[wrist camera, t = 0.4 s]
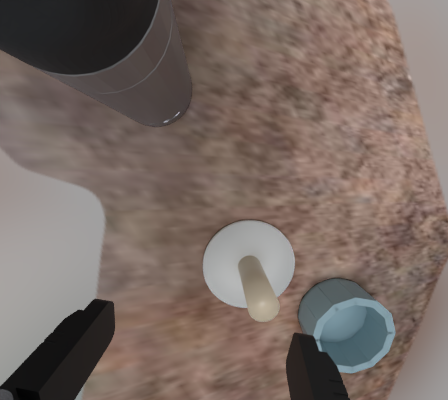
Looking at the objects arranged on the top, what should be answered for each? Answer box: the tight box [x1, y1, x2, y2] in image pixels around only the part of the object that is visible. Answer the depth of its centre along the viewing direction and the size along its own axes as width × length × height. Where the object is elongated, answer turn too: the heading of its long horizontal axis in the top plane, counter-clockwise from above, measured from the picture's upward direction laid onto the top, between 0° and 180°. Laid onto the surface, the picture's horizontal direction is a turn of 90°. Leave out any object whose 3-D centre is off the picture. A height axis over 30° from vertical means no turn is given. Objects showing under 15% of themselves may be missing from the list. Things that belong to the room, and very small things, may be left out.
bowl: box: [298, 278, 395, 373], centre depth 32 cm, size 11×11×5 cm
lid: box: [203, 220, 295, 322], centre depth 27 cm, size 13×13×10 cm
